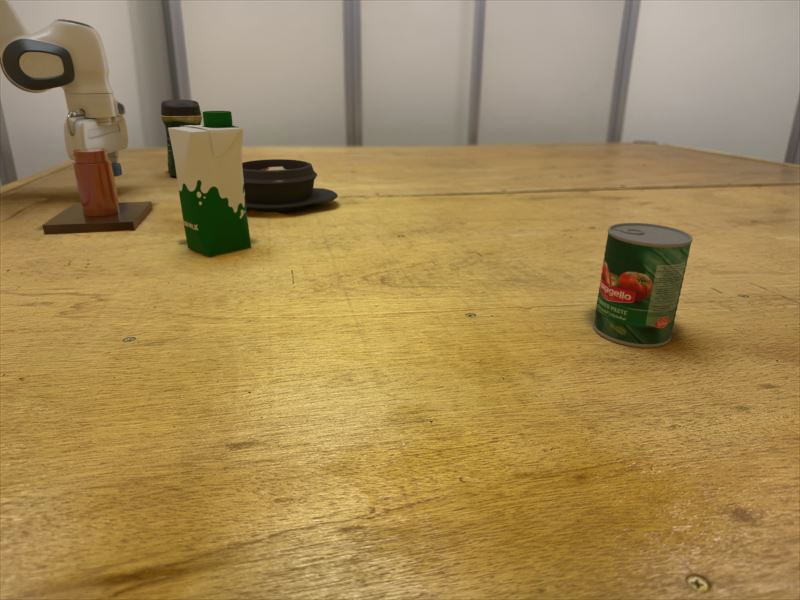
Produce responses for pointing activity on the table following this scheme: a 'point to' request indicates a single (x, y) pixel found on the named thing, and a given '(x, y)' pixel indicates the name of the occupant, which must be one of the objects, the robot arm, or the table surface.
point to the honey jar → (95, 182)
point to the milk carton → (211, 184)
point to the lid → (116, 169)
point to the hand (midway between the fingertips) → (105, 175)
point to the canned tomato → (641, 283)
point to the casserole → (281, 185)
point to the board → (98, 219)
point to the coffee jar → (178, 121)
